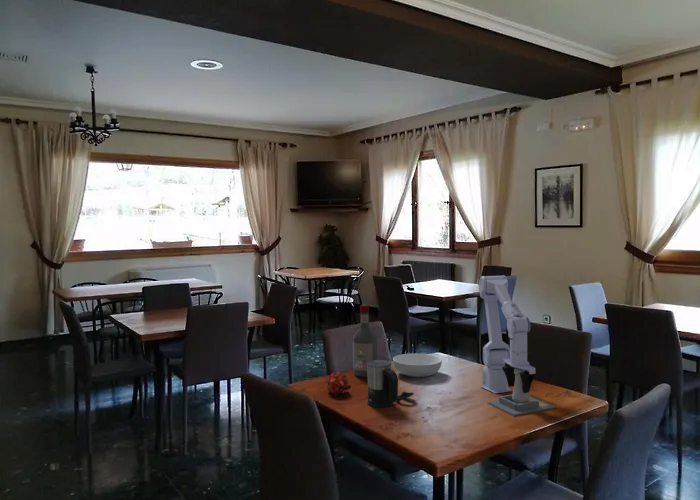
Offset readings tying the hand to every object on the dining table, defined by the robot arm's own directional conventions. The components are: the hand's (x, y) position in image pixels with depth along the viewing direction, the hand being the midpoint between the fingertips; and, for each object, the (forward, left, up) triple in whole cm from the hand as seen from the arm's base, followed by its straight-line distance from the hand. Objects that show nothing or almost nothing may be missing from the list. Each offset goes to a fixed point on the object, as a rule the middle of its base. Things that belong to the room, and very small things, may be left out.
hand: (518, 389), depth 184 cm
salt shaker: (0, +1, -6) cm, 6 cm away
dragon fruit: (-41, -52, -6) cm, 67 cm away
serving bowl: (-50, -12, -6) cm, 52 cm away
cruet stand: (0, +1, -6) cm, 6 cm away
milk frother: (-23, -38, -6) cm, 45 cm away
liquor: (-60, -32, -6) cm, 68 cm away
